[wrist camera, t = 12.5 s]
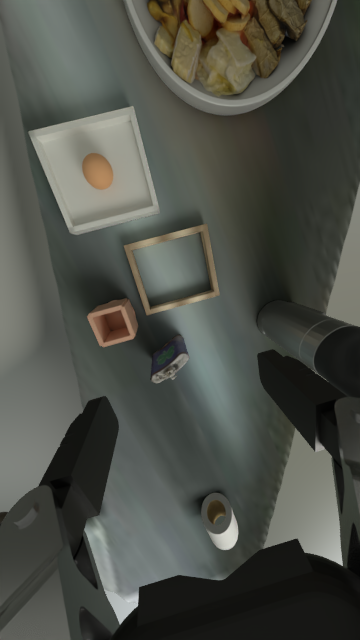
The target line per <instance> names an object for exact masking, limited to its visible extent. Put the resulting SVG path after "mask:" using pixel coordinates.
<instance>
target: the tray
mask: <svg viewBox="0 0 360 640" xmlns="http://www.w3.org/2000/svg"><path fill="white" fill-rule="evenodd" d="M28 133H29V136H30V138H31V140H32V143H33V145H34V148H35V150H36V152H37V155H38V157H39V160H40V162H41V164H42V167H43V169H44V172H45V174H46V176H47V179H48V181H49V183H50V186H51V188H52V191H53V193H54V195H55V198H56V200H57V203H58V205H59V207H60V210H61V212H62V215H63V217H64V219H65V222H66V224H67V227H68V229H69V231H70V233H72V234H75V235H78V234H82V233H86V232H90V231H93V230H97V229H101V228H105V227H109V226H113V225H116V224H120V223H124V222H128V221H132V220H136V219H139V218H143V217H147V216H151V215H155V214H159V206H158V202H157V198H156V194H155V190H154V186H153V182H152V178H151V174H150V170H149V166H148V163H147V159H146V155H145V151H144V147H143V143H142V139H141V135H140V131H139V127H138V123H137V119H136V115H135V111H134V107H133V106H131V107H127V108H123V109H119V110H115V111H110V112H106V113H102V114H98V115H94V116H90V117H86V118H82V119H78V120H74V121H69V122H65V123H61V124H57V125H53V126H49V127H45V128H41V129H37V130H32V131H28ZM90 153H97V154H100V155H102V156H103V157H105V158H106V159H107V160H108V162H109V163H110V165H111V167H112V170H113V181H112V184H111V185H110V186H109V187H108V188H107V189H103V190H100V189H96V188H94V187H93V186H91V185H90V184H89V183H88V182H87V180H86V179H85V177H84V174H83V171H82V162H83V160H84V158H85V157H86V156H87V155H88V154H90Z"/></svg>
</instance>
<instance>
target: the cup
mask: <svg viewBox="0 0 360 640" xmlns="http://www.w3.org/2000/svg"><path fill="white" fill-rule="evenodd" d="M87 318H88V320H89V322H90V325H91V327H92V329H93V331H94V334H95V336H96V338H97V340H98V342H99V345H100V346H103V347H106V346H109V345H113V344H116V343H120V342H124V341H127V340H131V339H134V337H135V335H136V332H137V328H138V323H137V320H136V314H135V310H134V308H133V307H132V306H131V303H130V300H129V299H128V300H127V298H125V299H121V300H113V301H110V302H109V303H106V304H103V305H99V306H97V307H96V308H95V309H94V310H93V311H91V312H90V313H89V314H88V316H87ZM111 330H112V331H111Z"/></svg>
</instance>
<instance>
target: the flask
mask: <svg viewBox="0 0 360 640" xmlns="http://www.w3.org/2000/svg"><path fill="white" fill-rule="evenodd" d="M188 359H189V355H188V352H187V349H186V345H185V342H184V338H183V337H182V336H181V335H177V336H175V337H173V338H172V340H171V341H169V342H168V343H166V344H165V345H164V347H163V348H161V349H160V350H159V351H157V352H155V353H154V354H153V356H152V370H151V378H150V380H151V381H152V382H154V383H160V382H161V381H163V380H165V379H167V378H169V377H172V376H174V375H175V373H176V372H177V371H178V370H179V369H181V367H182V366H183V365H184V364H185V363H186V362H187V361H188ZM176 376H177V375H176ZM175 378H176V377H173V378H171V379H175Z"/></svg>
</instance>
